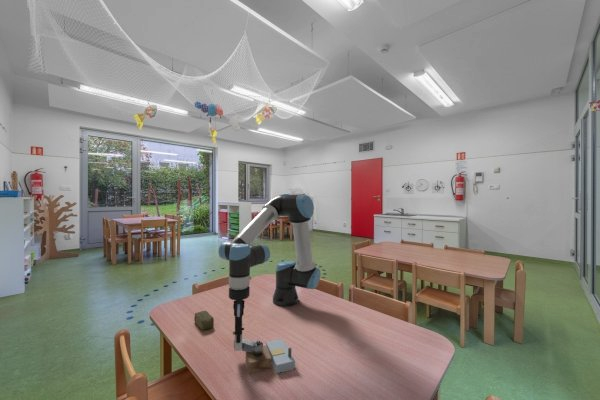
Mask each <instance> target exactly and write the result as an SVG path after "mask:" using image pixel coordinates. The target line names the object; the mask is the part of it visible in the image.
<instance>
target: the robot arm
mask: <svg viewBox="0 0 600 400" xmlns="http://www.w3.org/2000/svg"><path fill="white" fill-rule="evenodd" d="M261 208H262V209H261V211H259V213H258V214H257V215H256V216H255V217H254V218H252V220H251V221H250V222H248V224H247V225H246V226H245V227H243V229H242V230H241V231H240V232H238V234H237V235H236V236H235V237H233V239H232V240H231V241H224V242H222V243H221V244H220V245H219V248H218V255H219V257H220V258H221V259H223V260H226V261H228V262H229V264H228V265H229V267H228V269H229V270H228V298H229V299H230V300H232V301H233V306H232V307H233V316H234V331H233V332H232V335H234V340H235V346H234V345H233V349H234V352H235V351H236V352H237V351H238V352H239V351H242V338H243V331H244V330H245V327H243V316H244V313H245V312H244V309H245V300H246V299H248V298H249V297H250V292H251V291H250V288H251V287H250V280H252V277H251V276H250V273H251V268H252V267H256V266H258V265H263V264H265V263H266V262H268V261H269V259H270V257H271V250H270V249H269V247H268V246H267V245H265V244H257V245H252V244H253V243H254V242H255V241H256V239H257V238H258V237H259V236H260V235H261V234H262V233H263V232H264V231H265V229H266V228H268V226H269V225H270V224H271V223H272V222H273V221H276V220H277V219H278V218H279V217H288V223H290V224H292V233H293V234H292V235H293V242H294V248H295V250H294V251H295V255H296V261H294V260H286V261H281V262H279V263H277V264H276V266H275V289H274V293H273V296H272V303H273V304H274V305H277V306H281V307H290V306H294V305H296V304H297V303H298V302H299V296H298V291H297V289H296V287H297V288H298V287H299V288H303V289H307V290H308V289H309V290H314V289H316V288H317V287H318V285H319V282H320V279H321V269H320V268H318V267H317V266H316V262H315V261H313V255H312V246H311V245H312V244H311V237H310V226H309V222H310V220H311V218H312V217H313V216H314V210H315V207H314V202H313V200H312V198H311V197H310V196H309V195H305V194H279V195H277V196H275V197H273V198H272V199H270V200H269V201H267V202H266V203H265V204H264V205H263V206H262V207H261Z"/></svg>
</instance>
